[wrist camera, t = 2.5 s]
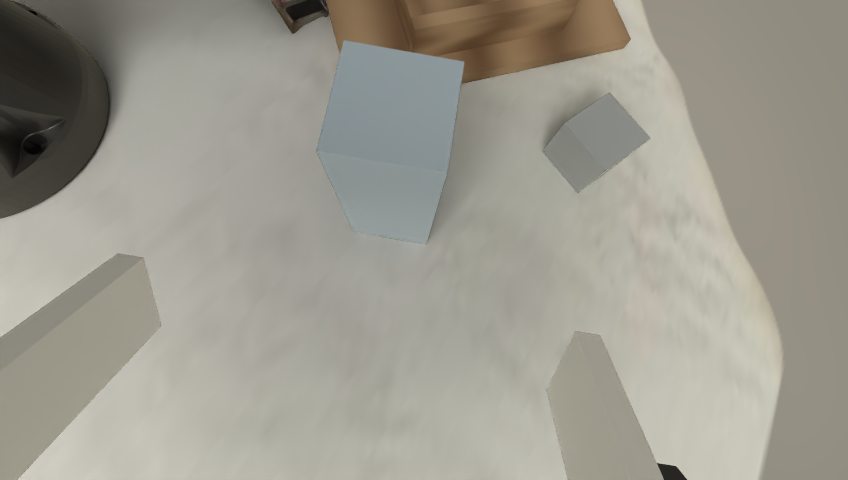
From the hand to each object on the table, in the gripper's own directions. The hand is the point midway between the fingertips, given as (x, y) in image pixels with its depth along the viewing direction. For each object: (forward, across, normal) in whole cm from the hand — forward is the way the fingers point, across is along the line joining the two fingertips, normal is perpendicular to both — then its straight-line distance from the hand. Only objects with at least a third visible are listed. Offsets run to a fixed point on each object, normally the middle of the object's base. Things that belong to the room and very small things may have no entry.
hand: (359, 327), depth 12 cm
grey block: (+20, +12, +1) cm, 23 cm away
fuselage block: (+15, 0, -3) cm, 16 cm away
